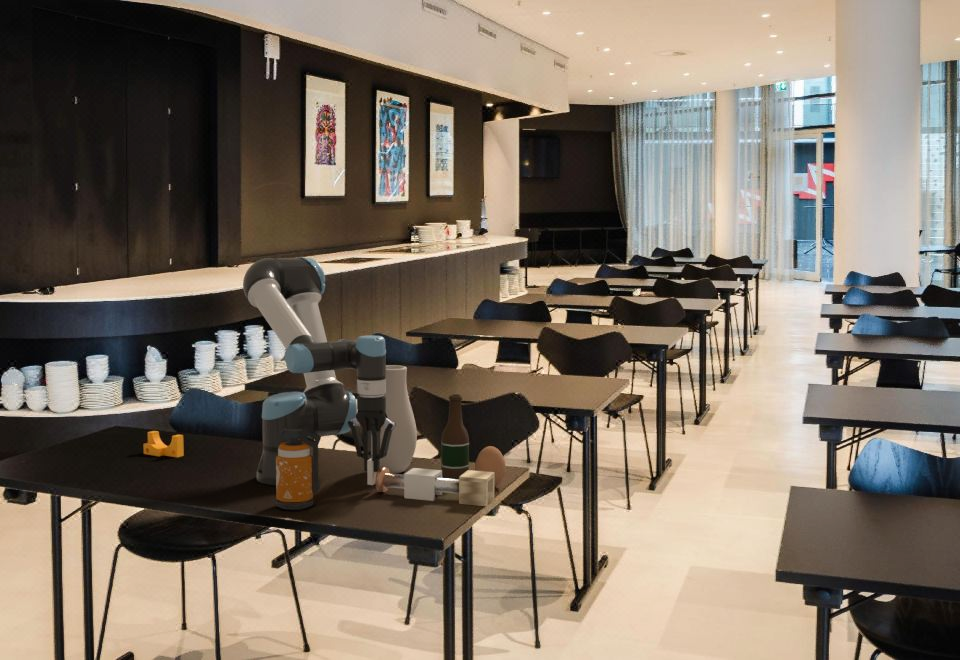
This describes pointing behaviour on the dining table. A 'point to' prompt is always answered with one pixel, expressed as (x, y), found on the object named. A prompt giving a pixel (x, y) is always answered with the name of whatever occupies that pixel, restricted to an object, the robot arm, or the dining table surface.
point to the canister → (297, 469)
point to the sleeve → (421, 484)
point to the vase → (398, 422)
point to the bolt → (397, 481)
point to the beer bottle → (454, 442)
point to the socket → (476, 488)
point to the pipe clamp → (160, 448)
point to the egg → (491, 463)
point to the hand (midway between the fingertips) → (372, 483)
